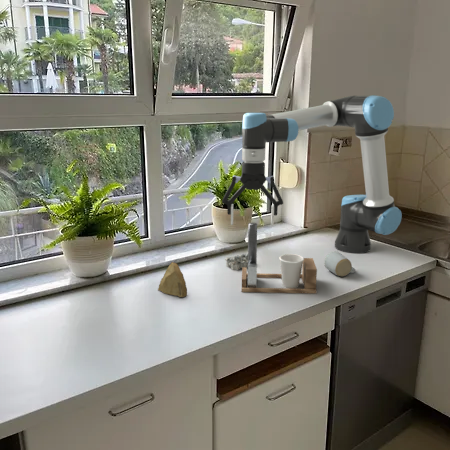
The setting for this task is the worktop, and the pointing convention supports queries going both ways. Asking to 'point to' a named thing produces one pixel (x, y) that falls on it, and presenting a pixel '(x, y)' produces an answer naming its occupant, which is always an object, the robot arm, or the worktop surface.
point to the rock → (173, 281)
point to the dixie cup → (291, 269)
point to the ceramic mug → (338, 264)
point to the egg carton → (237, 261)
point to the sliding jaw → (252, 255)
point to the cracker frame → (307, 277)
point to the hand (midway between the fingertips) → (252, 224)
